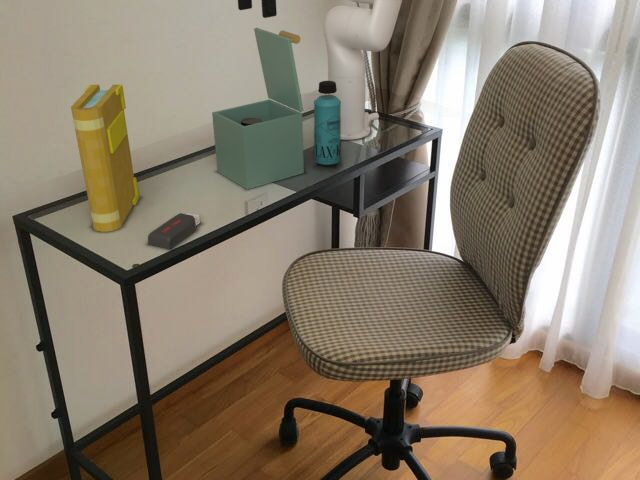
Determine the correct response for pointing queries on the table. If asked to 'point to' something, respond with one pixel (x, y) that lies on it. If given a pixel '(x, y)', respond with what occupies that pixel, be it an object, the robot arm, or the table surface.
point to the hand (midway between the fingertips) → (257, 12)
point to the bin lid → (279, 67)
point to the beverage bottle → (327, 125)
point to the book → (105, 155)
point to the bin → (259, 143)
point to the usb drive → (174, 230)
